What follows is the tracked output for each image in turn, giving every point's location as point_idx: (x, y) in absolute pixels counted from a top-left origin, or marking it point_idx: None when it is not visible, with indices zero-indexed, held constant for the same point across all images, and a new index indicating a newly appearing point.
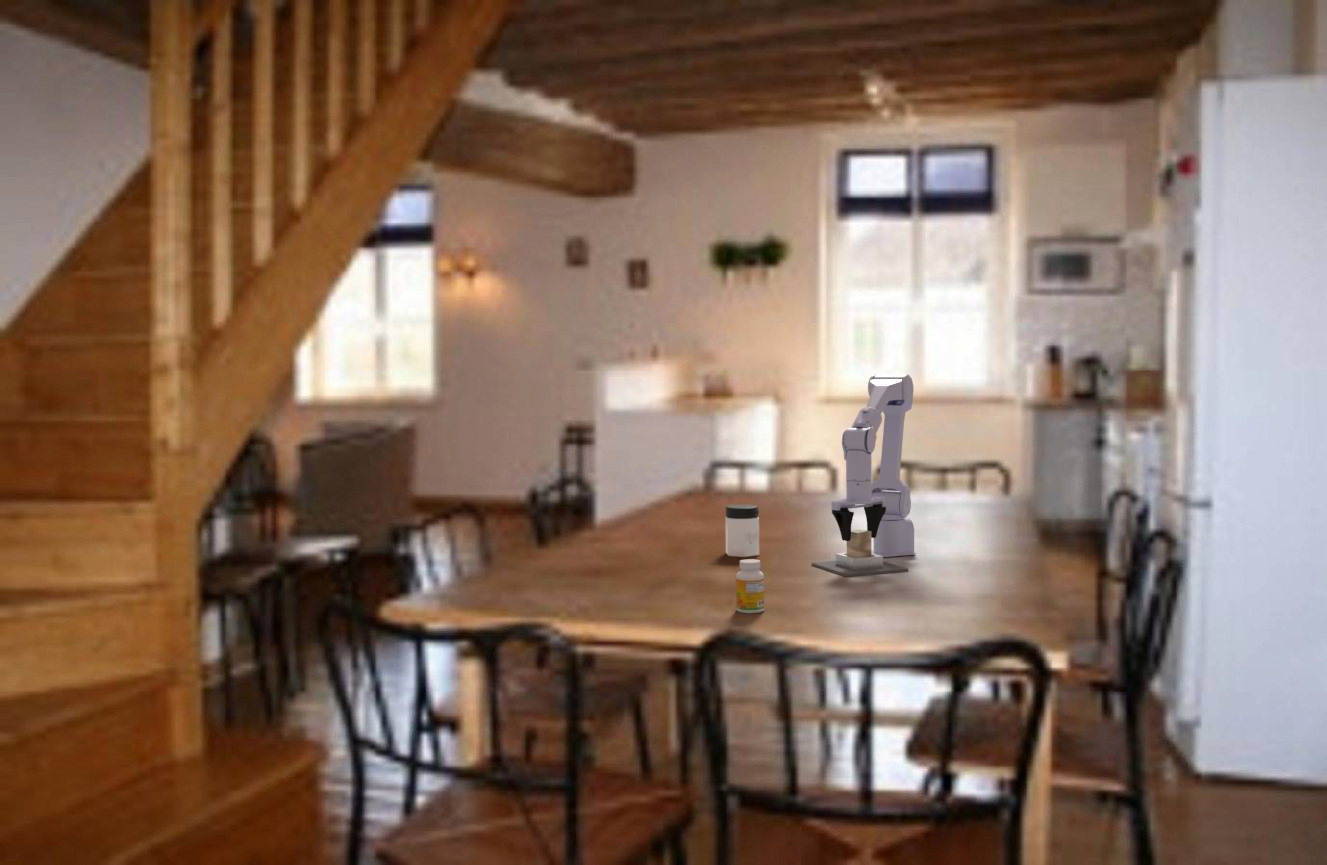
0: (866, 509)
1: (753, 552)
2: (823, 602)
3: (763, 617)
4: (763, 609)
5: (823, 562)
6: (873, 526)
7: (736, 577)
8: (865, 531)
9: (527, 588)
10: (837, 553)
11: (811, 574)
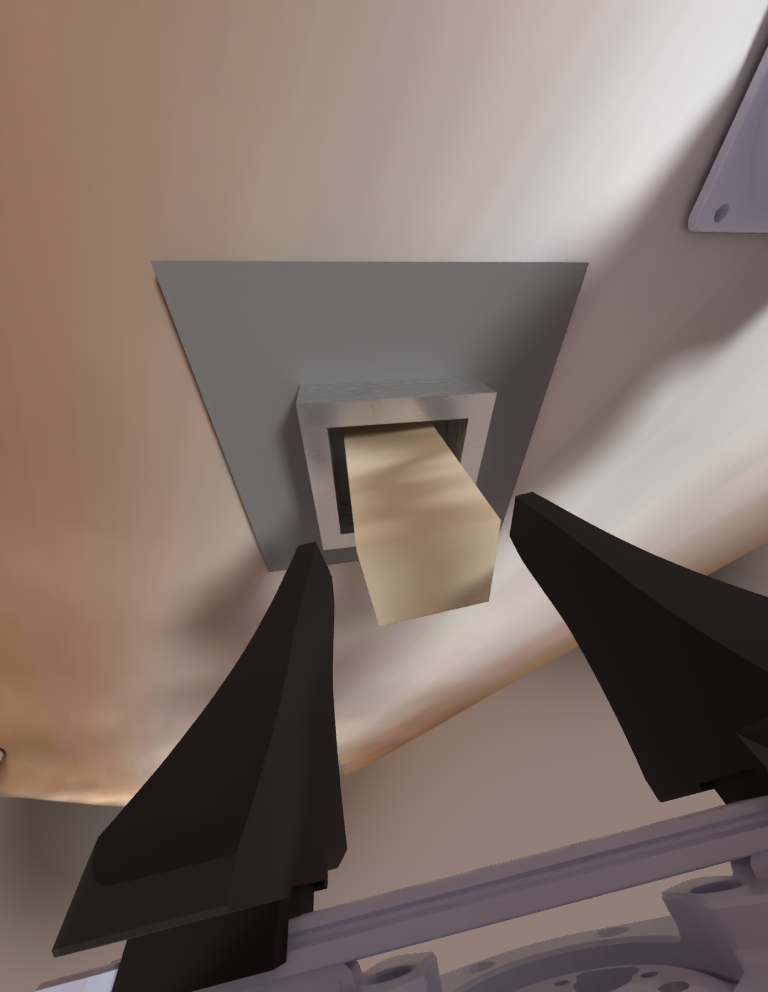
0: (737, 698)
1: None
2: (145, 718)
3: (14, 767)
4: (1, 758)
5: (243, 293)
6: (556, 589)
7: None
8: (457, 597)
9: None
10: (307, 406)
11: (136, 503)
